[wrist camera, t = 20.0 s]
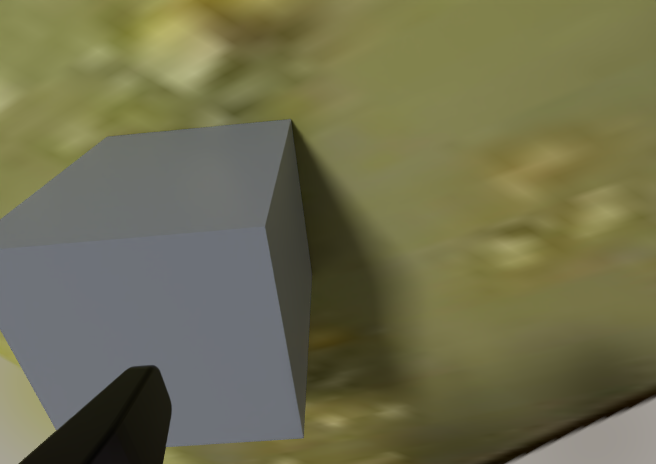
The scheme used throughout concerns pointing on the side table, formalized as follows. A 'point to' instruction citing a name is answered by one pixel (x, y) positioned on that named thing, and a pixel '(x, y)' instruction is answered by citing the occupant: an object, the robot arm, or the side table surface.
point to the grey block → (168, 279)
